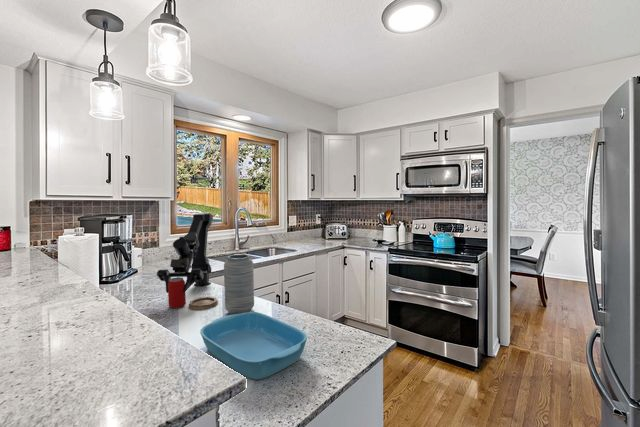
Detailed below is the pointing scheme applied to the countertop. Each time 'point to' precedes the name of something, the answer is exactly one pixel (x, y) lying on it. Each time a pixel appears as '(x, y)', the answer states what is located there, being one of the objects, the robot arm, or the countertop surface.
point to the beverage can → (176, 293)
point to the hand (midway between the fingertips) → (175, 292)
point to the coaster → (203, 303)
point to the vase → (239, 284)
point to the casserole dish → (254, 343)
